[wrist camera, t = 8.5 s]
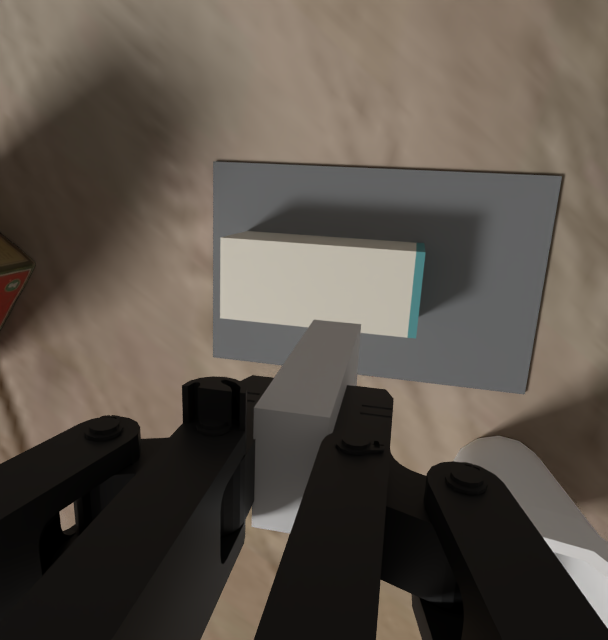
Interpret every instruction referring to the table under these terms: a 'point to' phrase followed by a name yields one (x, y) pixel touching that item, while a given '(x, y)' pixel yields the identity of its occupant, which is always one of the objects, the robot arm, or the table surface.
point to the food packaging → (12, 275)
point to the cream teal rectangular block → (322, 281)
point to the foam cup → (548, 513)
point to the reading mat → (439, 266)
